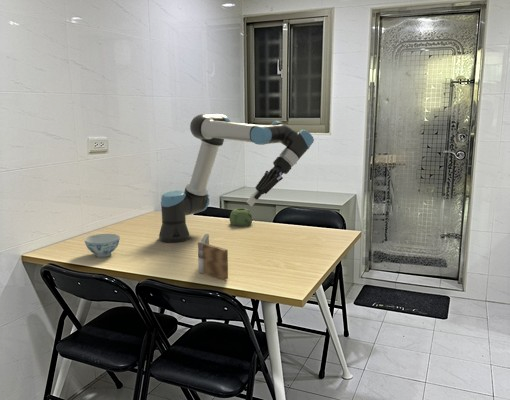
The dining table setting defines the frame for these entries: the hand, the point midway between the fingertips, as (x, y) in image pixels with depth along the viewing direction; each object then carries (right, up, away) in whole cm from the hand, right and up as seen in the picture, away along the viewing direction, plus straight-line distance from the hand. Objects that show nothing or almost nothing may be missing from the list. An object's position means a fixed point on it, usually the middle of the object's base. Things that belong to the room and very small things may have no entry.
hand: (249, 204), depth 193 cm
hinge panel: (-18, -26, 0) cm, 32 cm away
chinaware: (-65, -23, +16) cm, 71 cm away
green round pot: (-6, -12, +70) cm, 71 cm away
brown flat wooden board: (-14, -27, -10) cm, 33 cm away
